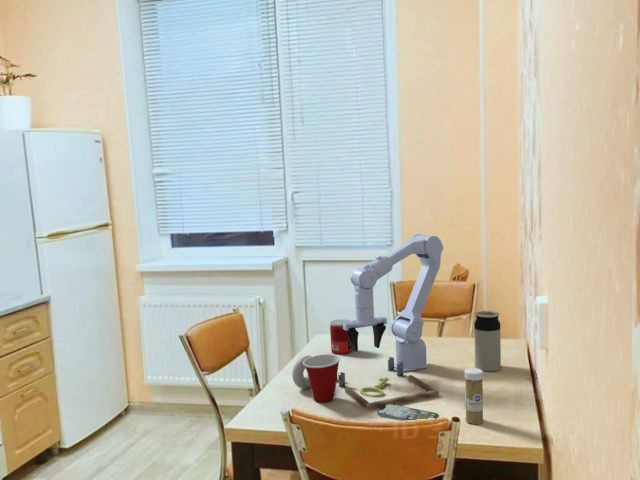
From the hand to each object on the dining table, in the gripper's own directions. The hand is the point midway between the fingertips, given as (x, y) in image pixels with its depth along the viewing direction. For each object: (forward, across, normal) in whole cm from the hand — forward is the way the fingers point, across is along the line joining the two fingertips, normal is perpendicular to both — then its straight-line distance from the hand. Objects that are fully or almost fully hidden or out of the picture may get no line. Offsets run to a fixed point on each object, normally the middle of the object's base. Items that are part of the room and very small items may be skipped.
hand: (366, 349), depth 192 cm
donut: (+9, +21, 0) cm, 23 cm away
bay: (+9, +1, +17) cm, 19 cm away
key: (+9, +3, +12) cm, 16 cm away
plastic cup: (+9, +20, +11) cm, 25 cm away
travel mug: (+9, -37, +13) cm, 40 cm away
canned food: (+9, -4, -27) cm, 29 cm away
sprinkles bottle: (+9, -8, +44) cm, 46 cm away
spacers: (+9, +1, +2) cm, 9 cm away
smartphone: (+9, +5, +33) cm, 34 cm away
